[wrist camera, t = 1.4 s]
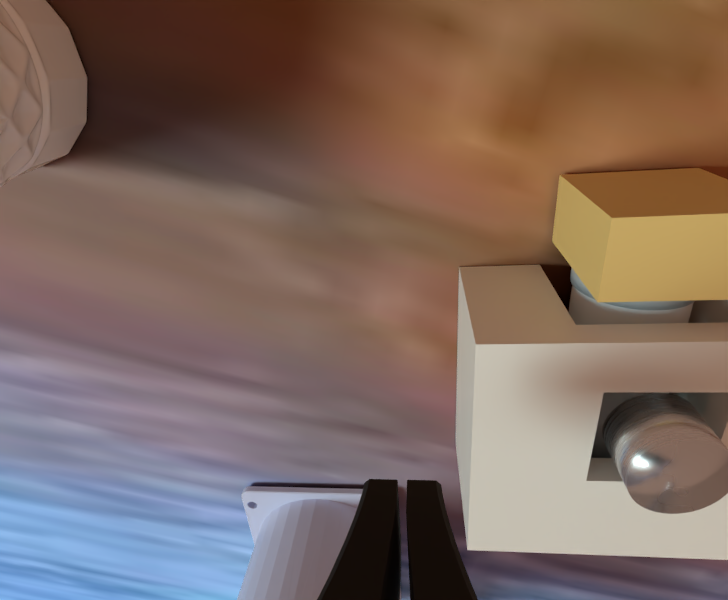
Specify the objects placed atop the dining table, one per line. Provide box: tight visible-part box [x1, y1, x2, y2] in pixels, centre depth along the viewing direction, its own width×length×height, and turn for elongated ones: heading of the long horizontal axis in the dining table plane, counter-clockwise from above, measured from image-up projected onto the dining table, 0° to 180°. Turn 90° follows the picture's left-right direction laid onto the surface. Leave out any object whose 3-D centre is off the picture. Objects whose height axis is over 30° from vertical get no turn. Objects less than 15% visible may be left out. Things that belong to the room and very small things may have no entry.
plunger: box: [602, 393, 728, 514], centre depth 14 cm, size 3×3×2 cm
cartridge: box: [552, 168, 728, 458], centre depth 16 cm, size 10×4×5 cm, turn 4°
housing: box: [456, 265, 728, 560], centre depth 17 cm, size 9×11×6 cm
